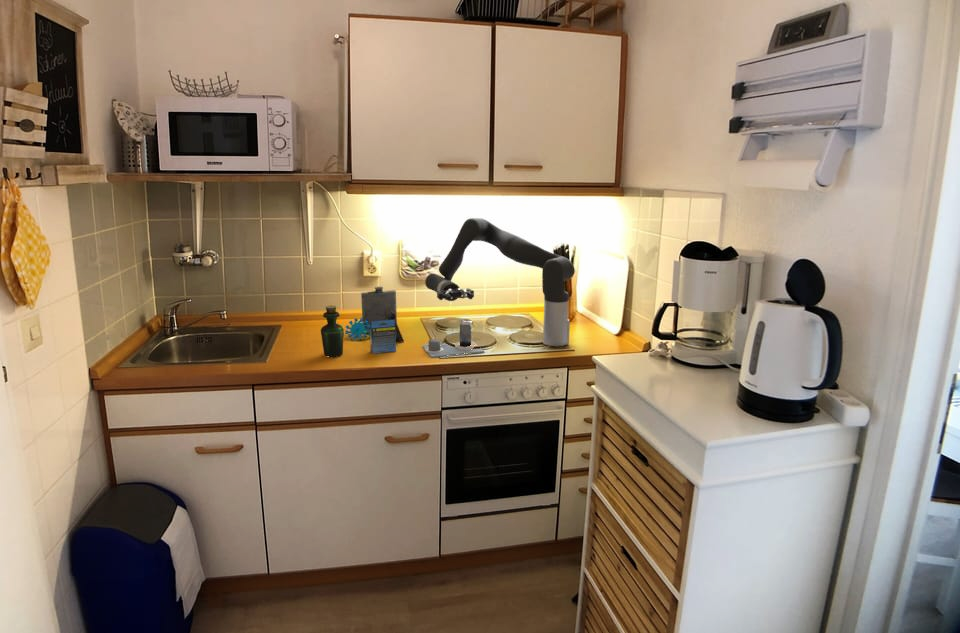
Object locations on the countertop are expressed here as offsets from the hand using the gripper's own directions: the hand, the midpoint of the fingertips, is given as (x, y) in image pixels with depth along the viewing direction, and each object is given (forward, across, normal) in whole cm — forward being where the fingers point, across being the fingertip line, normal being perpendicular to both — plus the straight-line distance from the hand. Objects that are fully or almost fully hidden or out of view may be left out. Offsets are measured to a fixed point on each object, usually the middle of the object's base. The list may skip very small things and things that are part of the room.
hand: (460, 297), depth 245 cm
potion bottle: (+3, -50, +17) cm, 53 cm away
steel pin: (+12, -2, +16) cm, 20 cm away
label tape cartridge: (+5, -32, +17) cm, 37 cm away
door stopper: (-7, -27, +17) cm, 32 cm away
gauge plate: (+12, -7, +17) cm, 22 cm away
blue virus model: (-15, -38, +16) cm, 44 cm away
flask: (-25, -27, +16) cm, 40 cm away
